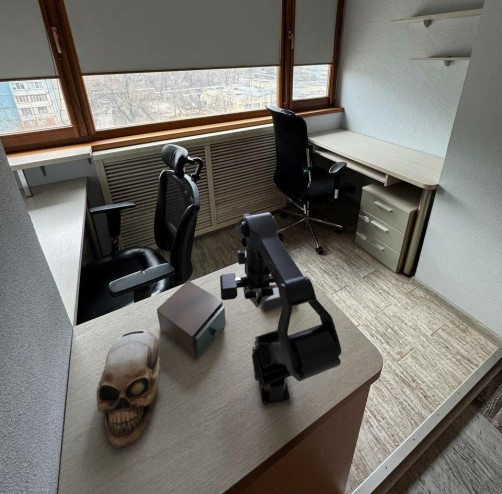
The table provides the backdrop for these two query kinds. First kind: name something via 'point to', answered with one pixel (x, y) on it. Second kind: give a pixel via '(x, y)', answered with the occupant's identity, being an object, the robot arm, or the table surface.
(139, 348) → the coin bank
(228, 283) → the robot arm
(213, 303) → the cabinet
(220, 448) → the table surface
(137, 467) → the table surface
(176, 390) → the table surface
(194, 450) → the table surface
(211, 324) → the drawer
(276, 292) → the calculator
